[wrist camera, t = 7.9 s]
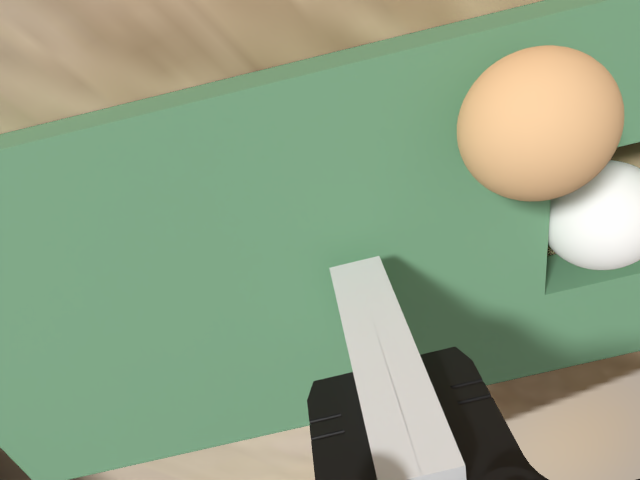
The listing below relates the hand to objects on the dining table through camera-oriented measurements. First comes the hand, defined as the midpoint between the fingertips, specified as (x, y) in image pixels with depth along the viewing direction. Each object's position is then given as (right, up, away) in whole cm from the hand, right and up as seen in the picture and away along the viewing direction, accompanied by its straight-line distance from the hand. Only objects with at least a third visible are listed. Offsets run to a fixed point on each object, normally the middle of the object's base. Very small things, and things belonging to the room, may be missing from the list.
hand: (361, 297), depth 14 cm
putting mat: (-1, +1, +3) cm, 3 cm away
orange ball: (+4, +4, -3) cm, 7 cm away
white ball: (+8, +3, +1) cm, 8 cm away
